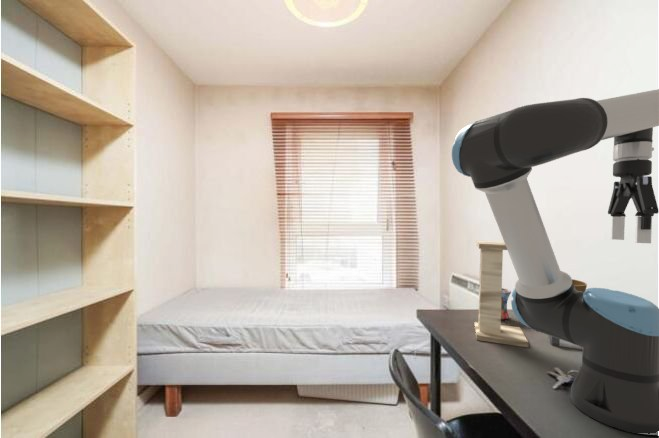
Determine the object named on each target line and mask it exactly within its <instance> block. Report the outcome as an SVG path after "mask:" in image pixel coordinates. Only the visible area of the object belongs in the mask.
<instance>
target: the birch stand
mask: <svg viewBox="0 0 659 438" xmlns="http://www.w3.org/2000/svg"><path fill="white" fill-rule="evenodd" d="M476 246H477V248H478V249H480V252H479V253H480V257H479V283H478V285H479V287H478V321H474V323H473V324H474V325H473V326H475V327H474V332H476V333H475V338H477V339H476V341H483V342H489V343H496V344H503V345H511V346H515V347H524V348H529V341H528V338H527V337H526V335H525V334H524V332H523V330H522V328H521V327H520V326H511V325H502V324H501V323H502V322H501V321H502V319H501V295H502V288H503V287H502V286H503V261H504V260H503V257H504V256H503V255H504V254H503V253H504V251H508V250H507V247H506V245H505V242H504V241H493V240H492V241H490V240H489V241H488V240H476Z"/></svg>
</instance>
